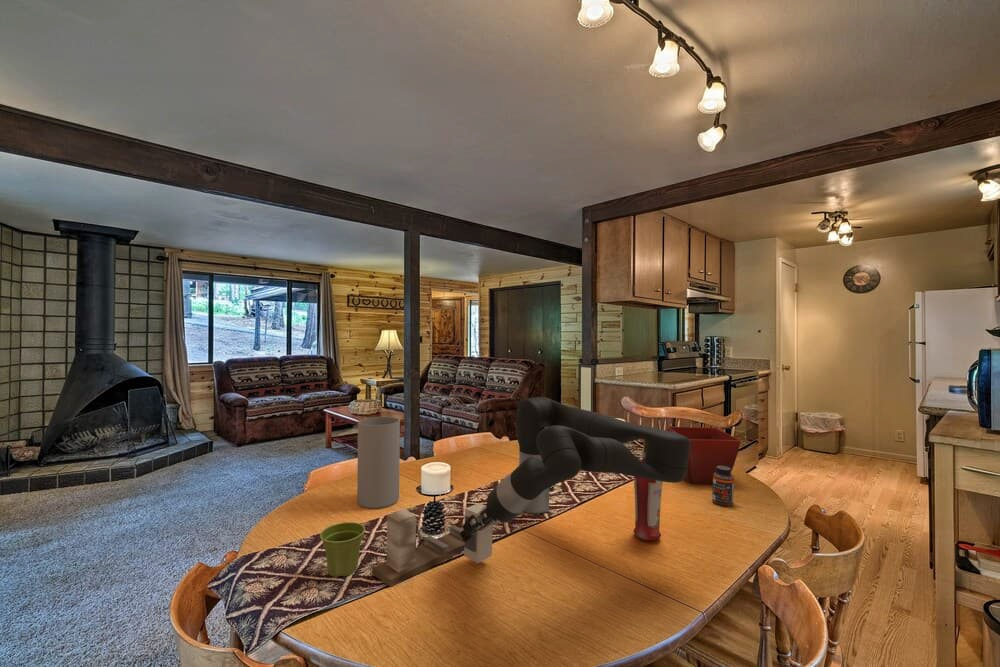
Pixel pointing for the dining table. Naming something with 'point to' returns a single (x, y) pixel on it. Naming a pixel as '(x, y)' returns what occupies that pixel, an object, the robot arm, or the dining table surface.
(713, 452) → the plant pot
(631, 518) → the dining table surface
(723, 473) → the supplement bottle
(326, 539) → the plant pot
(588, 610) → the dining table surface
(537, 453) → the robot arm
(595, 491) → the dining table surface
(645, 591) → the dining table surface
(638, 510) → the liquor
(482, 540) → the block
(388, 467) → the cylinder vase
